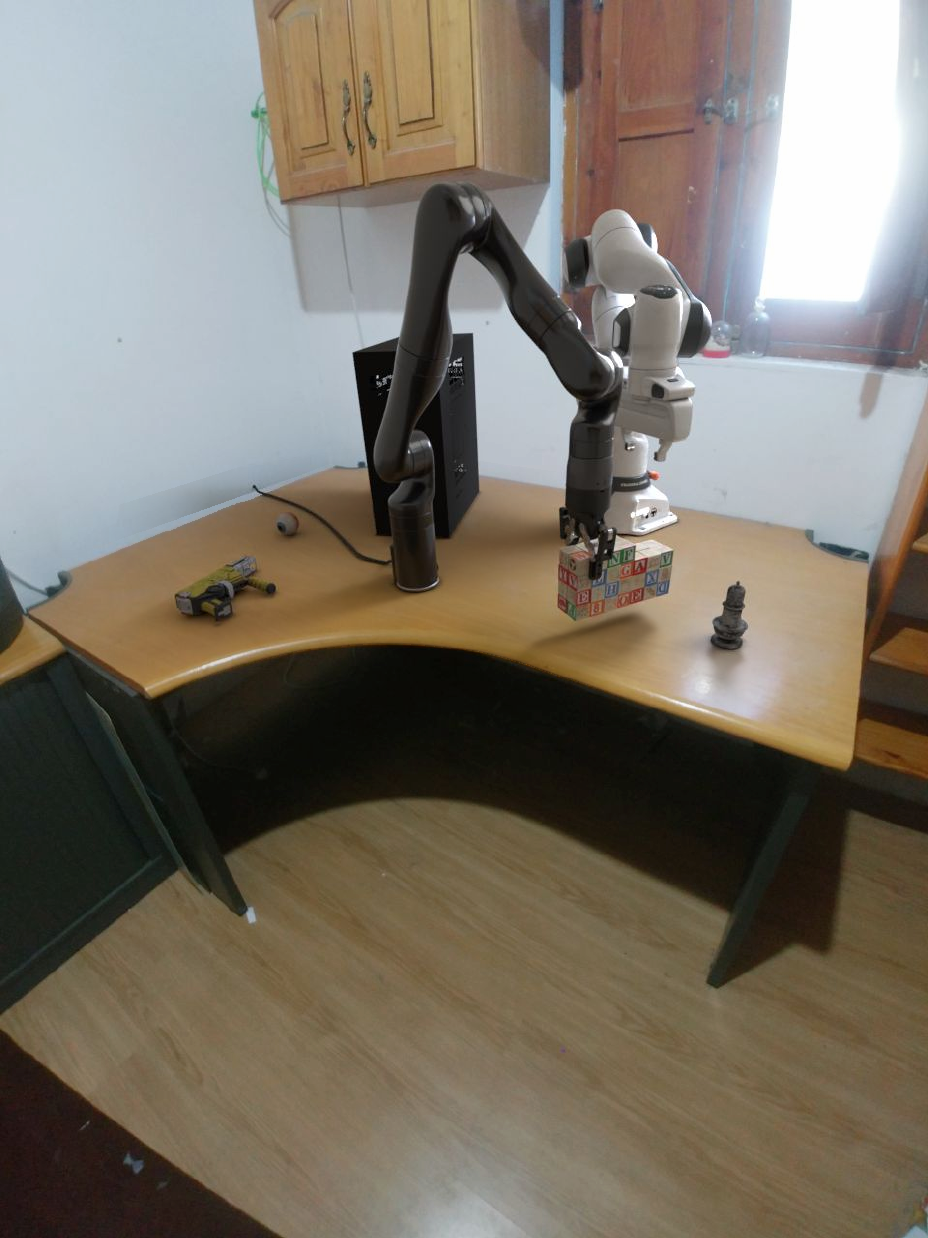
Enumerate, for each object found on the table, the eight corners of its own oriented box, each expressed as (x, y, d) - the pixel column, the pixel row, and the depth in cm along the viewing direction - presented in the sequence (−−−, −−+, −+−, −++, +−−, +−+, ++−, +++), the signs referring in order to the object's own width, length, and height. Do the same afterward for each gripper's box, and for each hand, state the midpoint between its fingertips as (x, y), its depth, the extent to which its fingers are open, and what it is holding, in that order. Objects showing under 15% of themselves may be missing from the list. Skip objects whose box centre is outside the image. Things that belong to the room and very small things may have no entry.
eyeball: (273, 537, 164) (268, 516, 161) (287, 528, 169) (282, 508, 166) (291, 539, 161) (286, 518, 158) (305, 530, 166) (301, 510, 163)
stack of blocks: (647, 581, 121) (654, 523, 115) (668, 594, 116) (677, 534, 110) (556, 607, 114) (558, 547, 108) (575, 622, 109) (578, 559, 103)
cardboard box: (449, 537, 157) (436, 349, 134) (376, 534, 161) (352, 352, 139) (479, 491, 188) (473, 332, 166) (417, 489, 193) (403, 335, 170)
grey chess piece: (747, 650, 105) (760, 589, 99) (711, 648, 106) (722, 587, 100) (741, 633, 110) (753, 574, 104) (707, 631, 111) (717, 572, 105)
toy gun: (297, 563, 140) (243, 552, 144) (229, 608, 120) (168, 594, 124) (299, 582, 142) (245, 570, 146) (233, 629, 122) (172, 614, 126)
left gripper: (546, 473, 104) (544, 561, 113) (595, 496, 93) (589, 592, 101) (582, 466, 107) (578, 553, 115) (635, 488, 96) (625, 582, 104)
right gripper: (604, 378, 122) (599, 447, 129) (674, 392, 106) (665, 470, 112) (629, 374, 124) (623, 442, 131) (702, 387, 108) (691, 464, 115)
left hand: (583, 571), depth 108 cm, fingers closed on stack of blocks, 6 cm apart
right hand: (643, 455), depth 122 cm, fingers open, 8 cm apart
